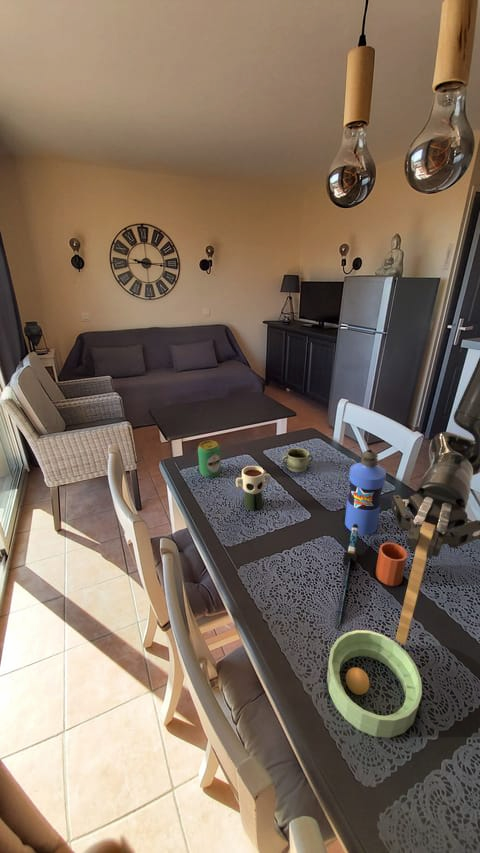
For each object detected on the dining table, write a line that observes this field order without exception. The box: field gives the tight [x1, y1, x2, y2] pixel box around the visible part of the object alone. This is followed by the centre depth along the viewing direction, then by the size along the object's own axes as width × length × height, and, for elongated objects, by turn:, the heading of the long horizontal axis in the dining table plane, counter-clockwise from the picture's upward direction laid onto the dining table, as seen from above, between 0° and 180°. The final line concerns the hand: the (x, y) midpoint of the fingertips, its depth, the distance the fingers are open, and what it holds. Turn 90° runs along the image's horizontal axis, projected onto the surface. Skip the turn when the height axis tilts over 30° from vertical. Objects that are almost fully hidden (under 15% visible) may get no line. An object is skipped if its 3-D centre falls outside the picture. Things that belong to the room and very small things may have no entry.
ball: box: [345, 666, 370, 696], centre depth 64 cm, size 4×4×4 cm
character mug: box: [235, 465, 271, 511], centre depth 115 cm, size 11×7×13 cm, turn 101°
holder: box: [375, 541, 408, 587], centre depth 86 cm, size 6×6×9 cm
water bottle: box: [344, 449, 387, 536], centre depth 102 cm, size 9×9×25 cm
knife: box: [338, 524, 359, 626], centre depth 88 cm, size 31×3×4 cm, turn 155°
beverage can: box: [197, 440, 222, 479], centre depth 134 cm, size 8×8×12 cm
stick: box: [395, 522, 436, 646], centre depth 56 cm, size 2×2×24 cm
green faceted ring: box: [326, 629, 423, 738], centre depth 64 cm, size 15×15×6 cm
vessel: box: [281, 447, 314, 473], centre depth 138 cm, size 12×9×6 cm
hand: (421, 549), depth 50 cm, fingers closed on stick
